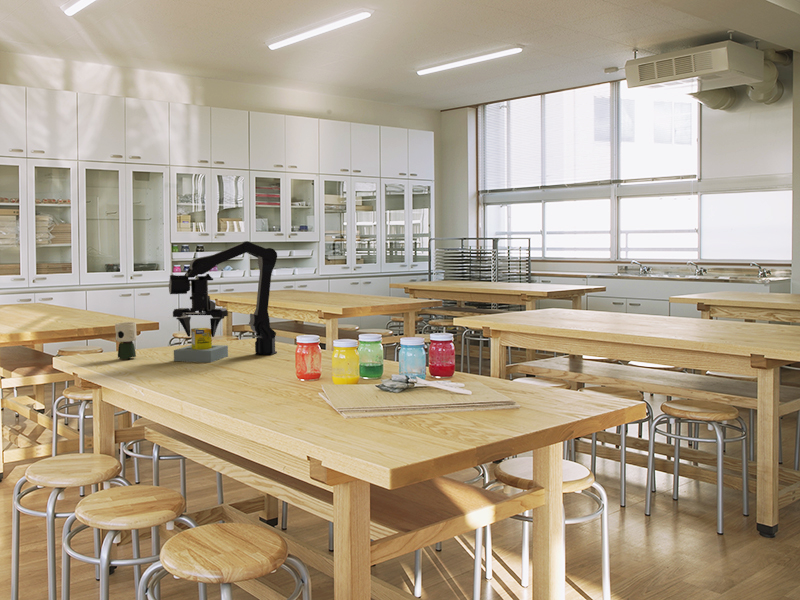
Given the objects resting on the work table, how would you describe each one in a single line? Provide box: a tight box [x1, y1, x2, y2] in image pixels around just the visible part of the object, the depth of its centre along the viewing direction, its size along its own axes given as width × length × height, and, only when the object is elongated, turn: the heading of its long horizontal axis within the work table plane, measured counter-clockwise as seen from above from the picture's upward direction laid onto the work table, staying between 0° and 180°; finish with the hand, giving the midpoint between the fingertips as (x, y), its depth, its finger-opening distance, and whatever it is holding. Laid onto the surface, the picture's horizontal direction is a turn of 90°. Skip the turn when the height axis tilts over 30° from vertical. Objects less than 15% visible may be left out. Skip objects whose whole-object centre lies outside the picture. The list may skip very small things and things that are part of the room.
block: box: [173, 344, 229, 363], centre depth 255 cm, size 14×14×4 cm
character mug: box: [114, 321, 138, 360], centre depth 256 cm, size 11×7×13 cm, turn 49°
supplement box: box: [190, 327, 213, 350], centre depth 255 cm, size 6×6×11 cm
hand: (201, 336), depth 255 cm, fingers open, 9 cm apart
